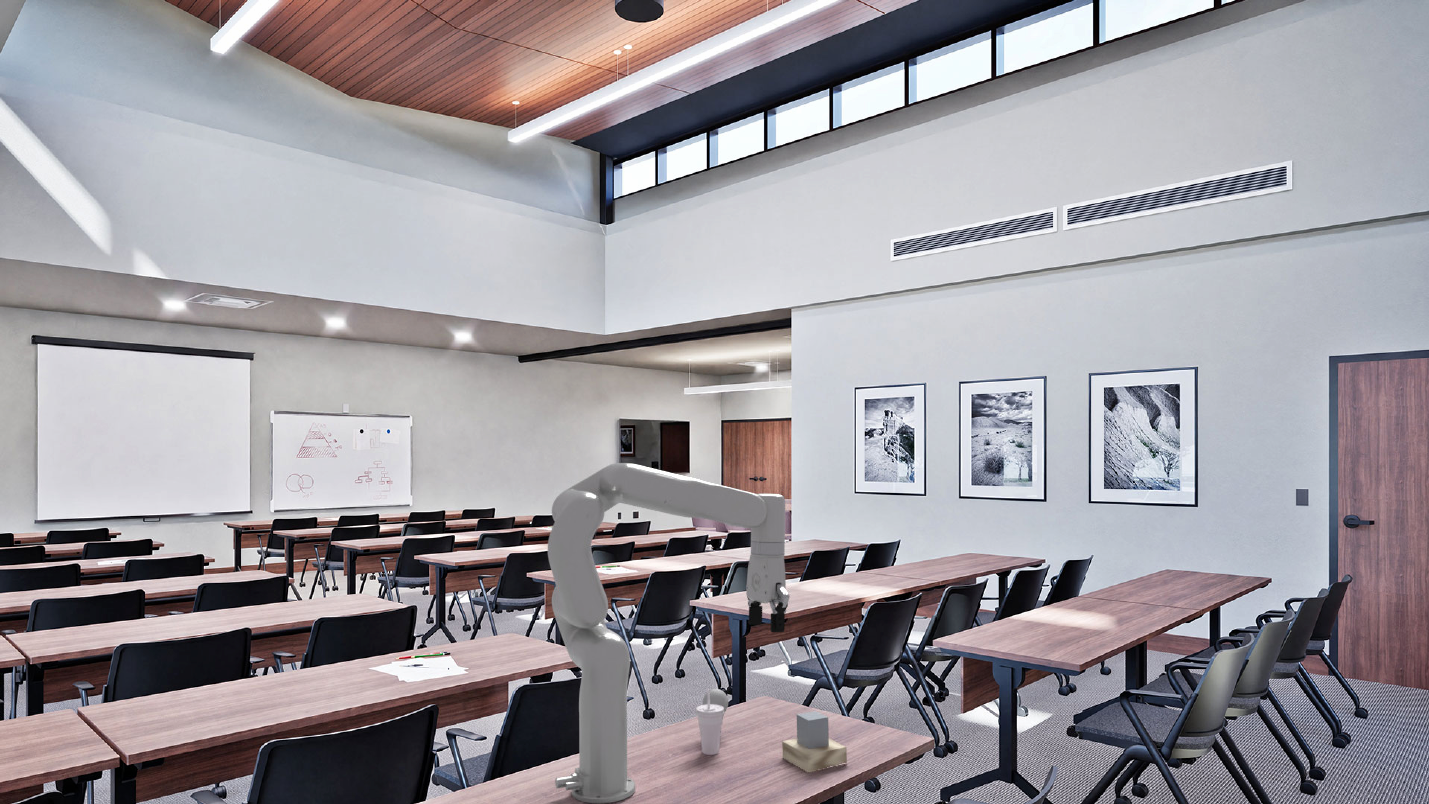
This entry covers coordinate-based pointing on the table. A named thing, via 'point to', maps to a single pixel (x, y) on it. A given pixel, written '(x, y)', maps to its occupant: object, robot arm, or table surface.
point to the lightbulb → (717, 699)
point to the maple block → (814, 755)
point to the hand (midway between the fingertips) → (766, 628)
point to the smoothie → (710, 726)
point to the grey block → (812, 730)
